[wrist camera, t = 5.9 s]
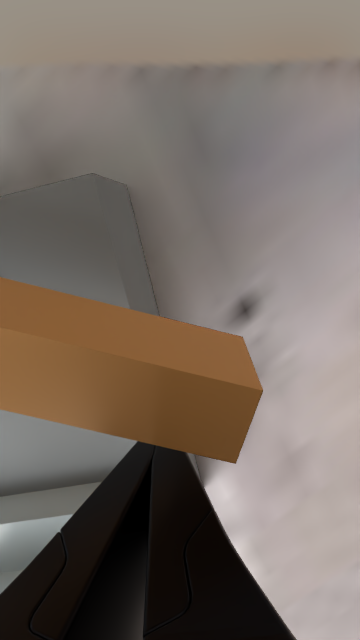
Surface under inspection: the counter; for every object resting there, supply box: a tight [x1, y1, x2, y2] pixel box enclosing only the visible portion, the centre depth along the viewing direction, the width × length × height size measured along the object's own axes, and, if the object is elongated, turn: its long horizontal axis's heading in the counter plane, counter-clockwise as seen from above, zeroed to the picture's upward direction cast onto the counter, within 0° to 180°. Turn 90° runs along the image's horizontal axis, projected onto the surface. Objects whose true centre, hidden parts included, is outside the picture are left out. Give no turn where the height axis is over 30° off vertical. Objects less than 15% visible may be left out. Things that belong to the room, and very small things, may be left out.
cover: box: [0, 482, 101, 594], centre depth 11 cm, size 7×5×4 cm
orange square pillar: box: [0, 277, 263, 464], centre depth 7 cm, size 2×9×4 cm, turn 76°
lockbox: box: [0, 173, 201, 497], centre depth 13 cm, size 10×15×5 cm, turn 13°
